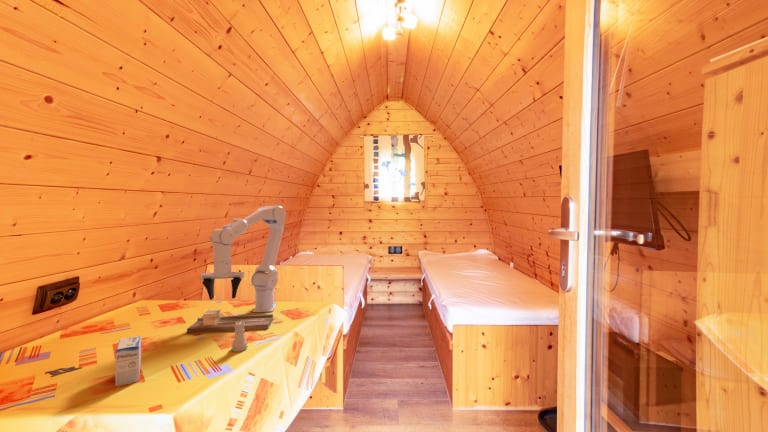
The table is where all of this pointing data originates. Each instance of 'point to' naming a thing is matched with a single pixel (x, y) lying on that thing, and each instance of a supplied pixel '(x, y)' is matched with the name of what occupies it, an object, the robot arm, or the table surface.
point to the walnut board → (233, 323)
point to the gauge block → (212, 317)
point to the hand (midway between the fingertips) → (222, 298)
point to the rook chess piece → (239, 337)
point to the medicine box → (128, 361)
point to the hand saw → (56, 372)
